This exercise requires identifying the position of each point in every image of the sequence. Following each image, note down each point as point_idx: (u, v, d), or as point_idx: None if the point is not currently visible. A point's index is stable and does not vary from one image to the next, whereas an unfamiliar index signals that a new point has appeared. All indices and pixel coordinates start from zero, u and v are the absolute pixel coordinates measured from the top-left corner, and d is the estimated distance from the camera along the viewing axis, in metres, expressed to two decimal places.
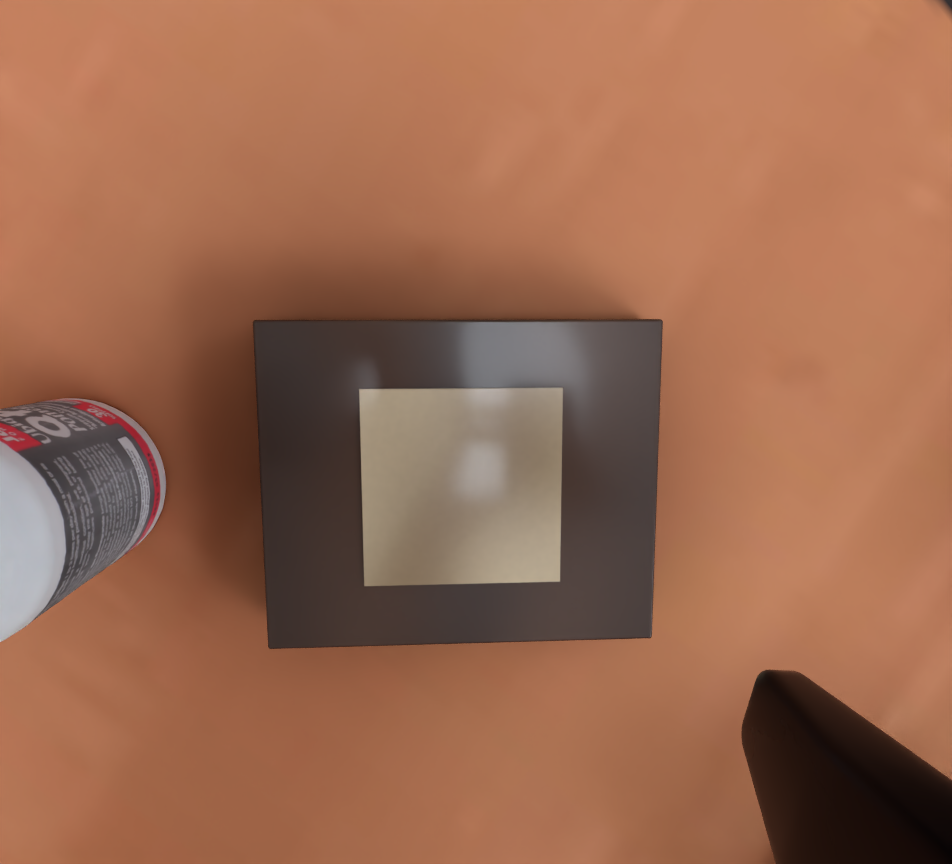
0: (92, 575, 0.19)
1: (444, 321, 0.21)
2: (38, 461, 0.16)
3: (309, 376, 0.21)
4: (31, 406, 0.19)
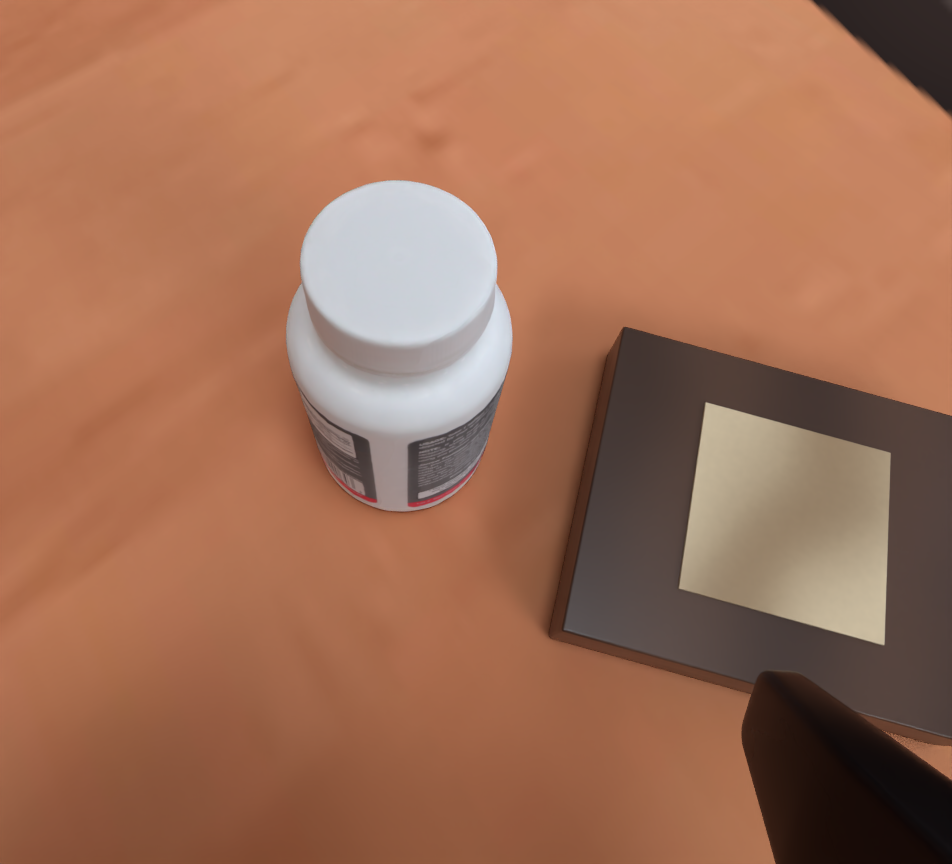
0: (449, 465, 0.19)
1: (786, 371, 0.23)
2: None
3: (662, 381, 0.22)
4: None
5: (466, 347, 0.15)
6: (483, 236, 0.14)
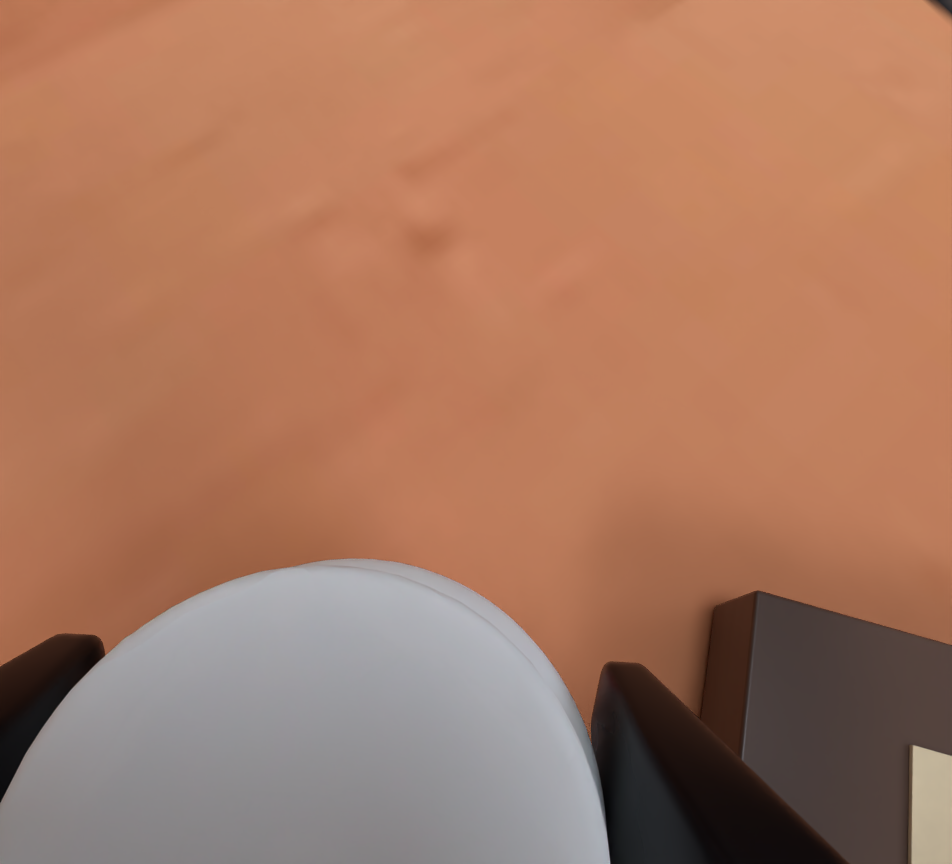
0: None
1: None
2: None
3: (832, 700, 0.13)
4: None
5: None
6: (567, 774, 0.05)
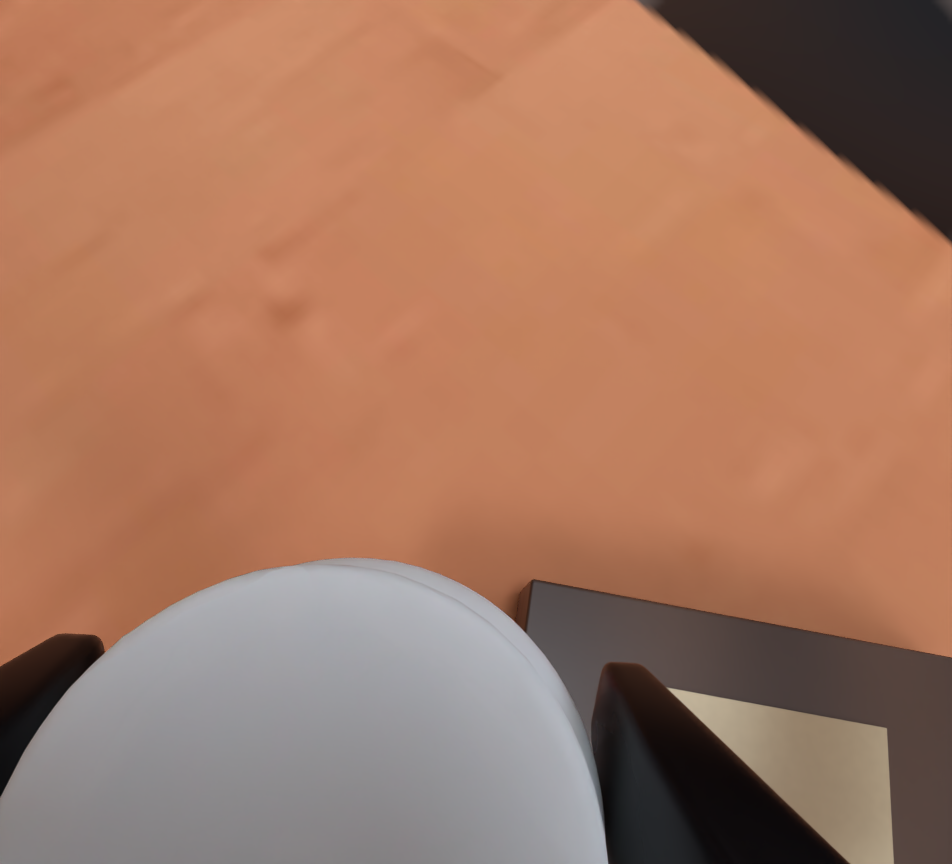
0: None
1: (745, 620, 0.18)
2: None
3: (586, 656, 0.17)
4: None
5: None
6: (565, 773, 0.05)
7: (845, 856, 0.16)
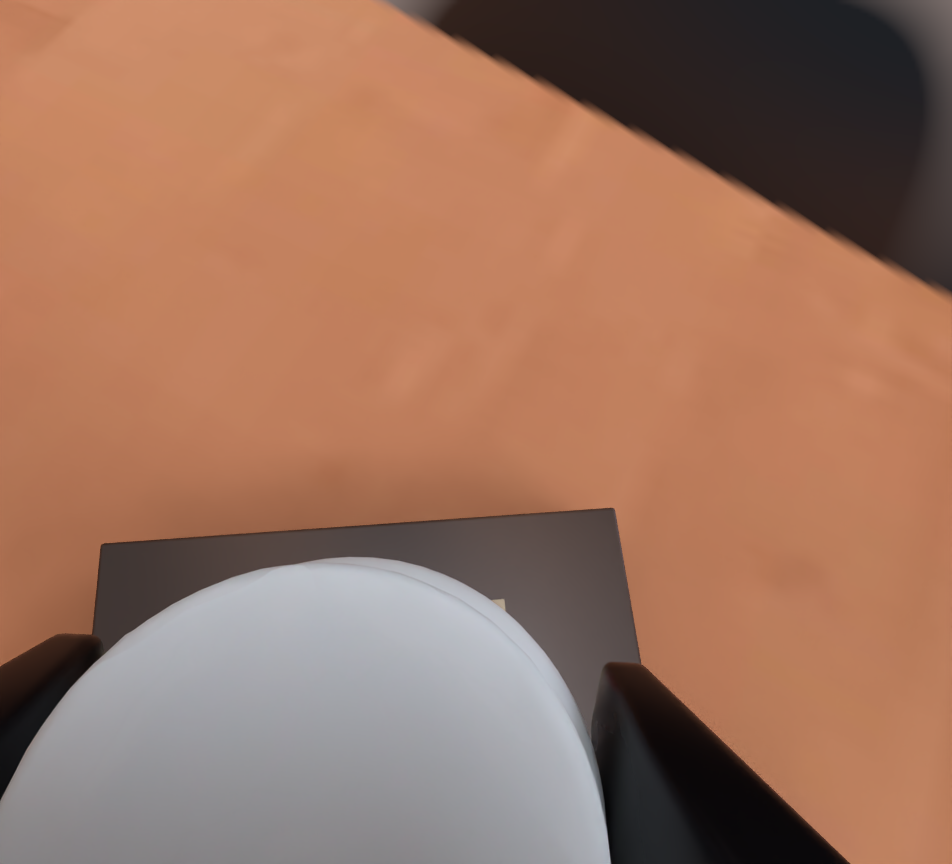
0: None
1: (347, 527, 0.17)
2: None
3: None
4: None
5: None
6: (567, 771, 0.05)
7: None
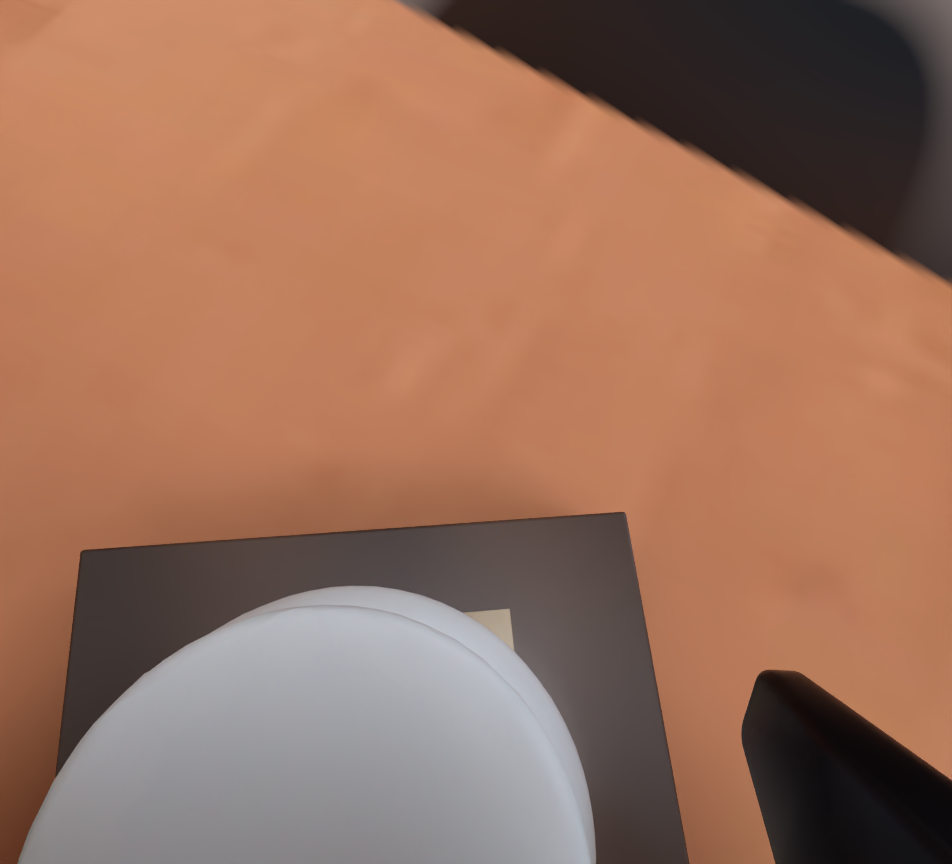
0: None
1: (343, 533, 0.16)
2: None
3: (151, 621, 0.15)
4: None
5: None
6: (554, 804, 0.05)
7: None
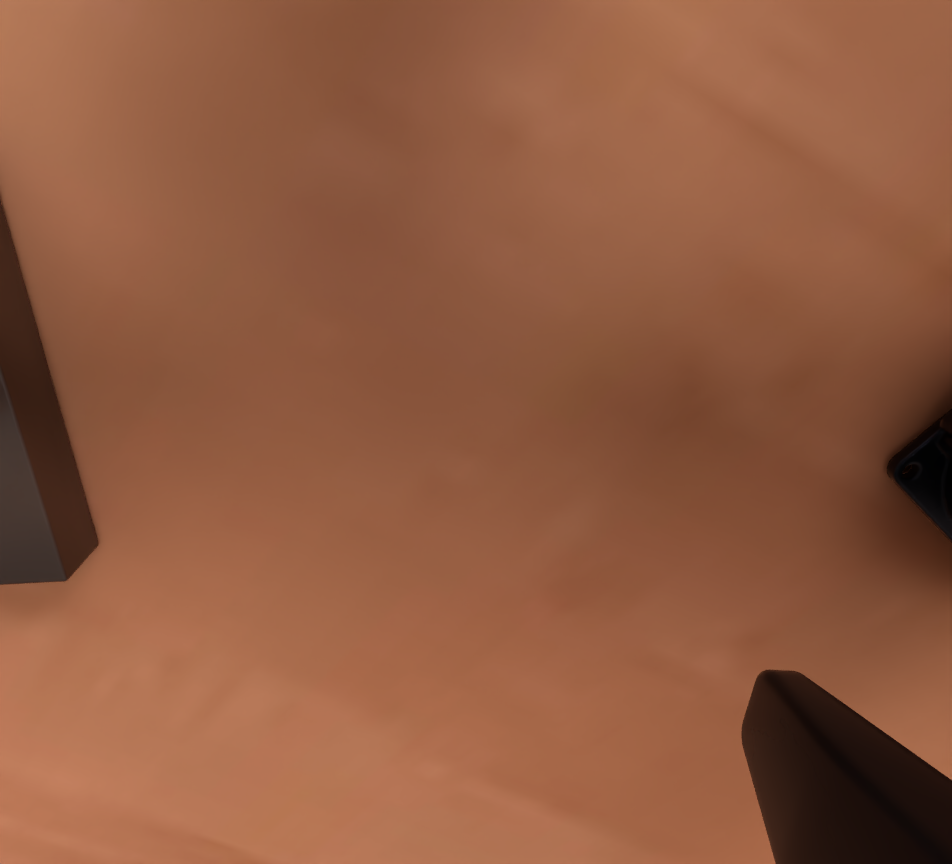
0: None
1: None
2: None
3: None
4: None
5: None
6: None
7: None
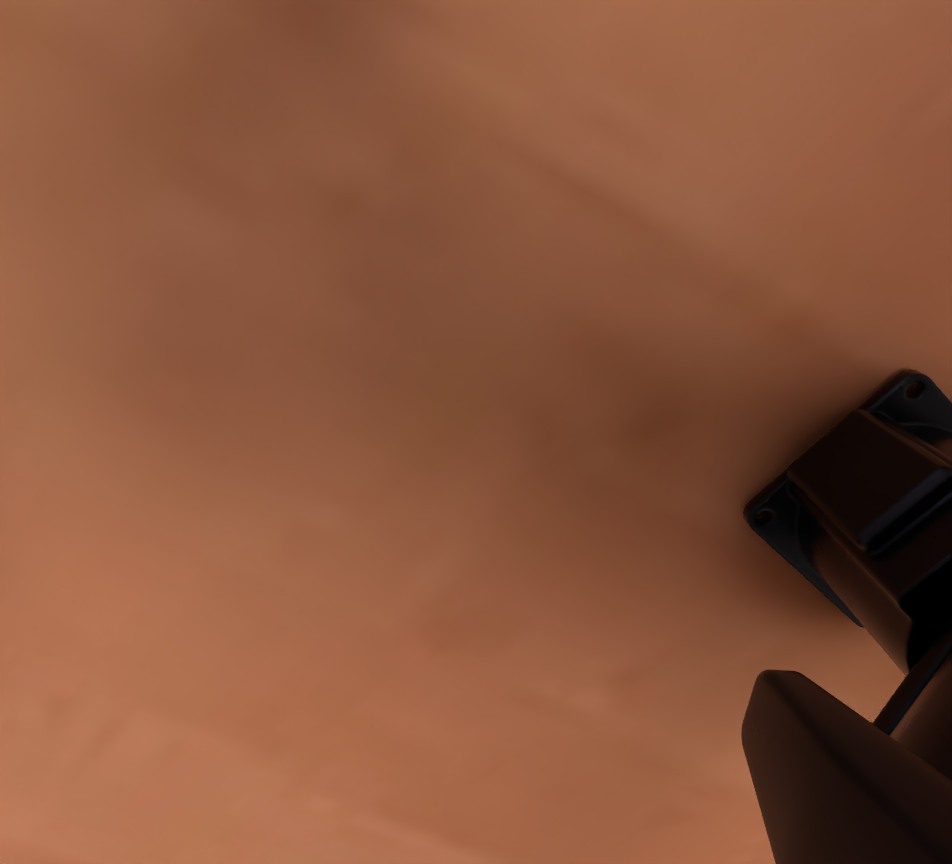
0: None
1: None
2: None
3: None
4: None
5: None
6: None
7: None
